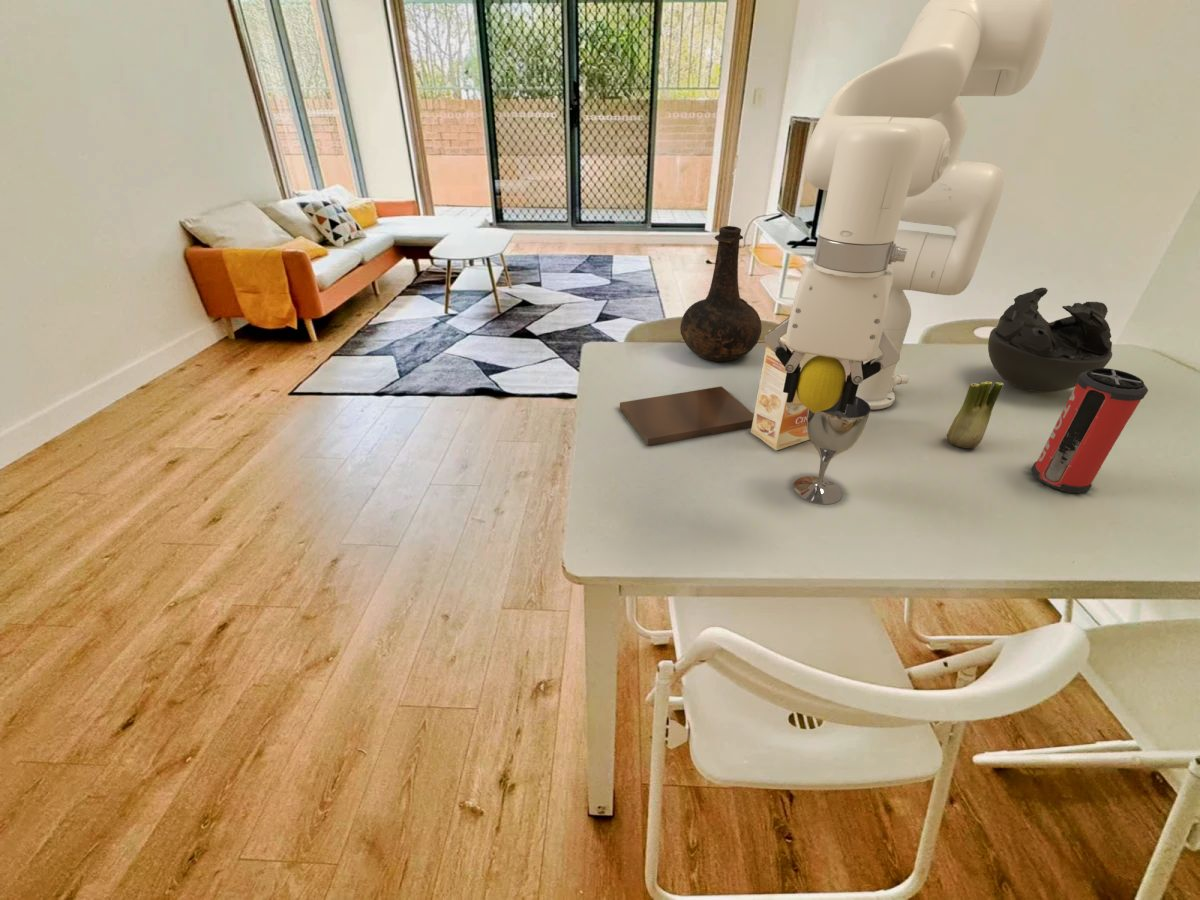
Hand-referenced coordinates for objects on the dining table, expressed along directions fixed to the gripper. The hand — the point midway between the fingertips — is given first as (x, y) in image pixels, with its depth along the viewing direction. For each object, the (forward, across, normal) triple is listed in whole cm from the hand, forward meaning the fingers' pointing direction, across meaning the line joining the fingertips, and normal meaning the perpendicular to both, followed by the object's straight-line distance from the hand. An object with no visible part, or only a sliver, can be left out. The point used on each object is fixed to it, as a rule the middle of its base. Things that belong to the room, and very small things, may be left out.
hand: (816, 401), depth 70 cm
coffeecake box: (+19, +3, -25) cm, 32 cm away
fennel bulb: (+19, -24, -33) cm, 45 cm away
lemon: (+2, 0, 0) cm, 2 cm away
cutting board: (+19, +22, -23) cm, 37 cm away
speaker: (+19, -38, -27) cm, 50 cm away
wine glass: (+19, -3, -9) cm, 21 cm away
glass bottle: (+19, +24, -54) cm, 63 cm away
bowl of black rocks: (+20, -39, -64) cm, 78 cm away
